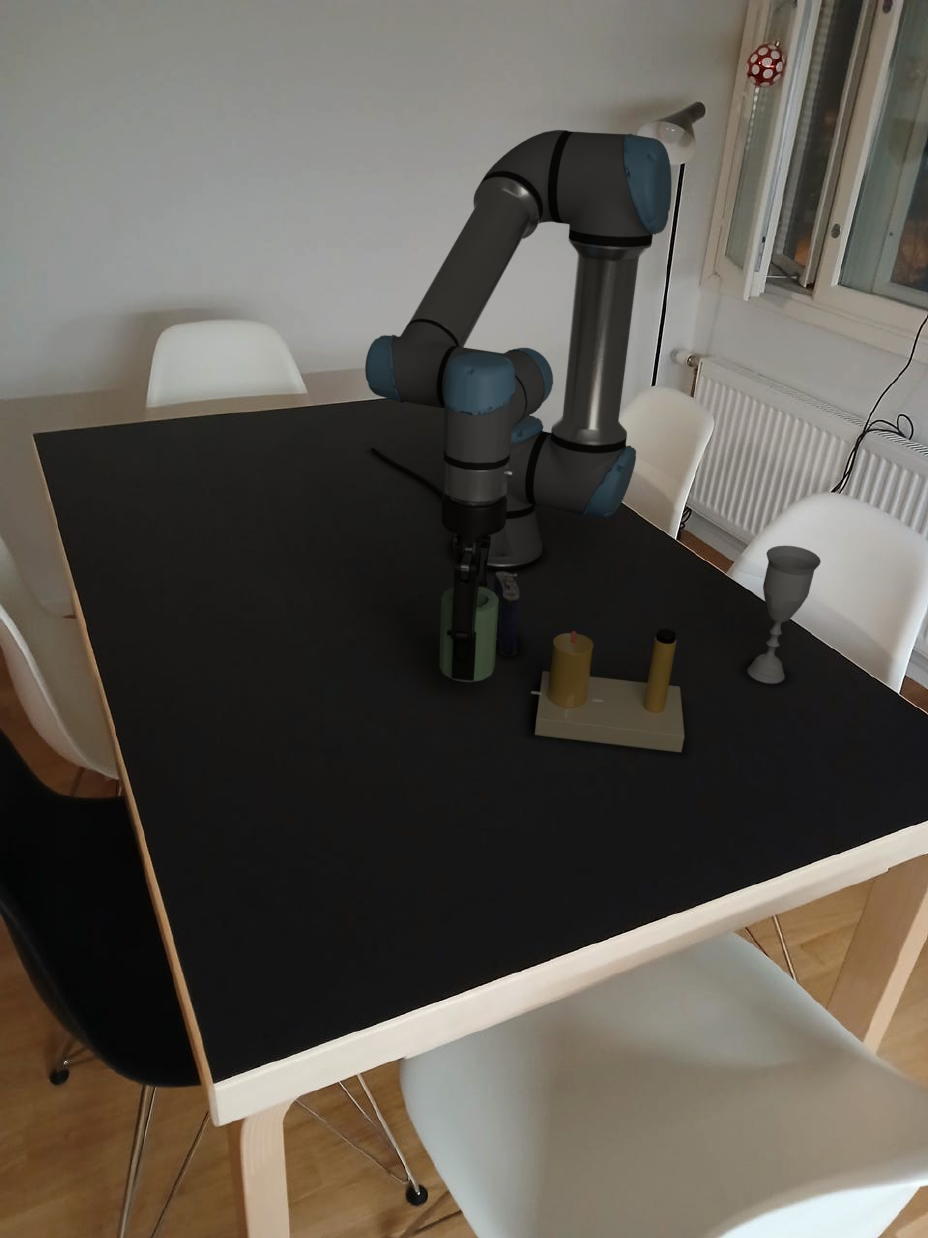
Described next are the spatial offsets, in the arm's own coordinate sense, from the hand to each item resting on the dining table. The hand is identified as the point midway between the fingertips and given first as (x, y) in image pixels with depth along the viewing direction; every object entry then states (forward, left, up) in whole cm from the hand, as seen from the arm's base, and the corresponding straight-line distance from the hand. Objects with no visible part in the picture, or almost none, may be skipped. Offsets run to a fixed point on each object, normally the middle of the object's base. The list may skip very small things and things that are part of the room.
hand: (467, 661), depth 122 cm
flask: (-7, +16, -6) cm, 18 cm away
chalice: (+24, +36, -6) cm, 44 cm away
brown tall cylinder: (+20, +14, -6) cm, 25 cm away
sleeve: (0, 0, -1) cm, 1 cm away
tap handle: (+11, +8, -4) cm, 13 cm away
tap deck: (+15, +11, -6) cm, 20 cm away
